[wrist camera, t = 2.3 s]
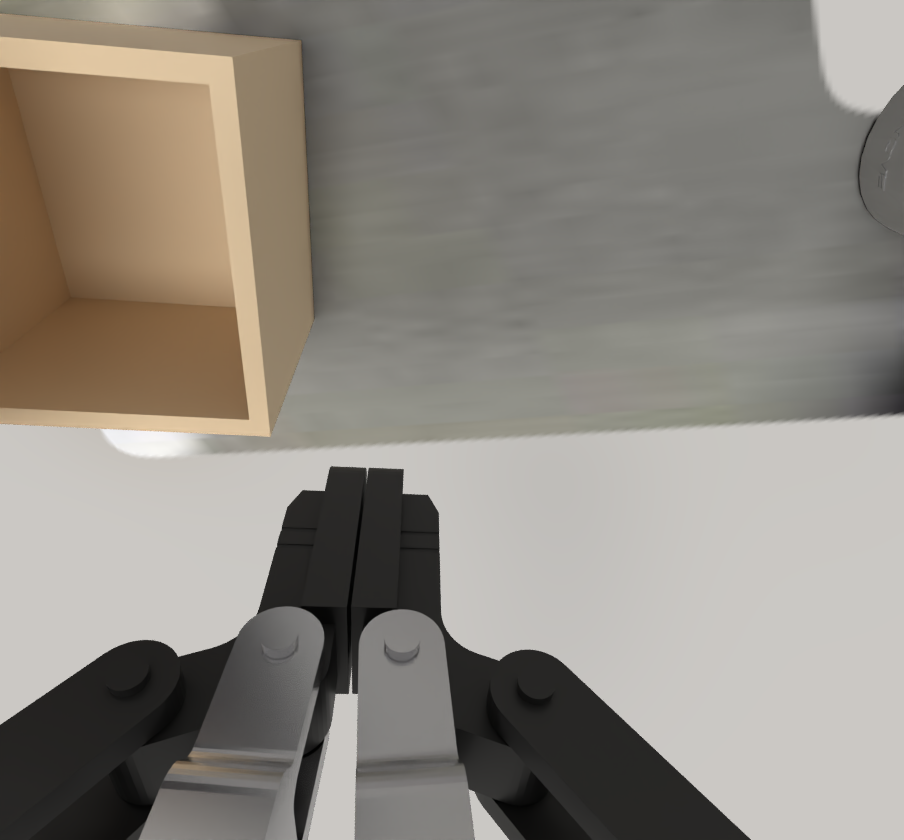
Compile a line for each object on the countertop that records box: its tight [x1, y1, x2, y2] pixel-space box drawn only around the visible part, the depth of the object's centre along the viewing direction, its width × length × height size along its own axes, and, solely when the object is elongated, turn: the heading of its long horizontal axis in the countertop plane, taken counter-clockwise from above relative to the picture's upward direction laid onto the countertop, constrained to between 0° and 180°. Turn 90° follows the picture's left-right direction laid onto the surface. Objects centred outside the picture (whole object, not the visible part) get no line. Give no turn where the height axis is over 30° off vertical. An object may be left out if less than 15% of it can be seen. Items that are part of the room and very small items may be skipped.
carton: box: [0, 13, 314, 437], centre depth 27 cm, size 14×14×12 cm
